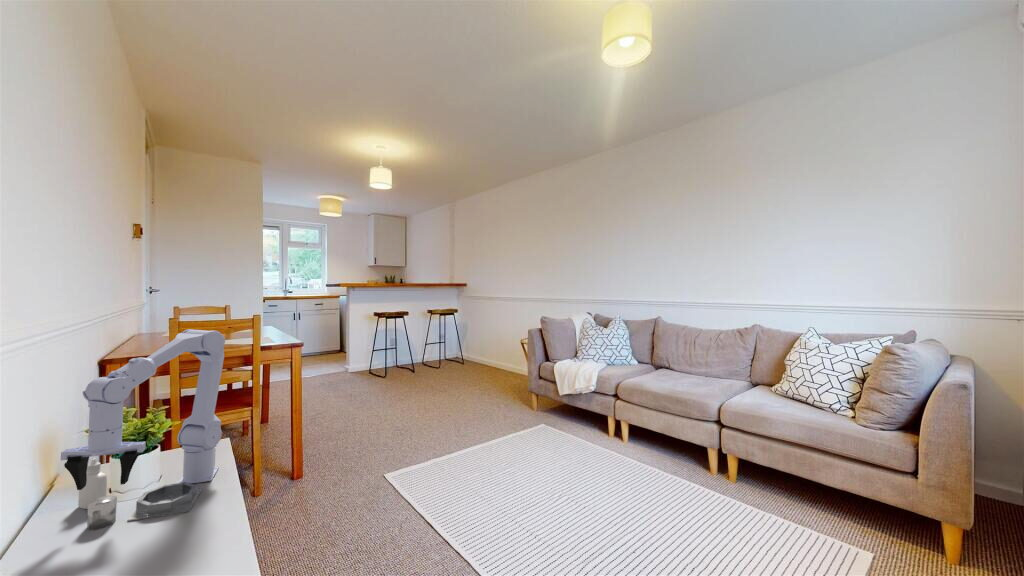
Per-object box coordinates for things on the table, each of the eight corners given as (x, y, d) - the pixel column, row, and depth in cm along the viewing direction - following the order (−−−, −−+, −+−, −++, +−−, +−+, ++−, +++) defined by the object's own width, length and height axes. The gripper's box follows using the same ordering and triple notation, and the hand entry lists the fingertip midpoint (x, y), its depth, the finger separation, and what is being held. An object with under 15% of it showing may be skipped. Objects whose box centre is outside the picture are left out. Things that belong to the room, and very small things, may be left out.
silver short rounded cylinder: (93, 520, 97) (94, 497, 97) (119, 516, 99) (120, 494, 99) (80, 533, 92) (81, 509, 92) (108, 529, 94) (109, 505, 94)
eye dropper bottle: (100, 498, 107) (102, 453, 107) (107, 505, 104) (109, 458, 104) (76, 505, 103) (79, 458, 103) (82, 513, 100) (84, 464, 100)
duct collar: (147, 497, 108) (147, 486, 108) (202, 490, 113) (202, 479, 113) (127, 521, 97) (127, 509, 97) (189, 511, 102) (189, 500, 102)
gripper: (53, 437, 90) (50, 498, 89) (138, 430, 96) (135, 487, 96) (71, 427, 96) (69, 484, 96) (150, 421, 102) (147, 475, 102)
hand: (103, 485), depth 96 cm, fingers open, 7 cm apart
